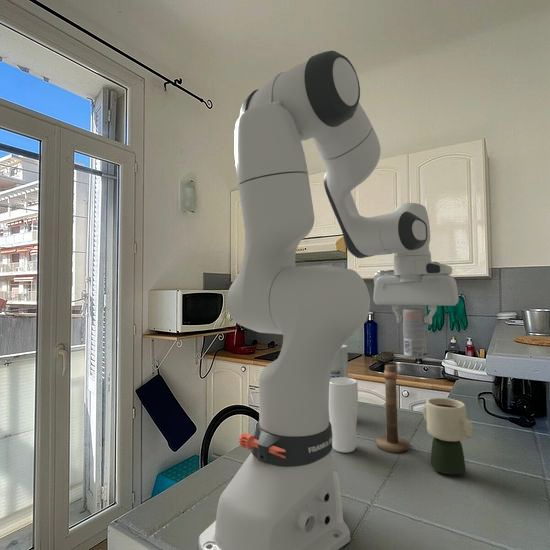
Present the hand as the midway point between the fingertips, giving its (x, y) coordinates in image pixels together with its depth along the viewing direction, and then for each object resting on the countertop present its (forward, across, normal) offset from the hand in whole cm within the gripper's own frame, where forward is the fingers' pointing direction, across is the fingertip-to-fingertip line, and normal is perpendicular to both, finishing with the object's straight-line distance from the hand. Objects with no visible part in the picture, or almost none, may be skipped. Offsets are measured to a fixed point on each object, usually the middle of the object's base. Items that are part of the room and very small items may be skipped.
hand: (414, 323), depth 88 cm
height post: (+27, -2, -11) cm, 29 cm away
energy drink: (+8, 0, 0) cm, 9 cm away
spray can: (+27, -21, -3) cm, 34 cm away
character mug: (+27, +11, -15) cm, 33 cm away
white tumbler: (+27, -10, -19) cm, 35 cm away
